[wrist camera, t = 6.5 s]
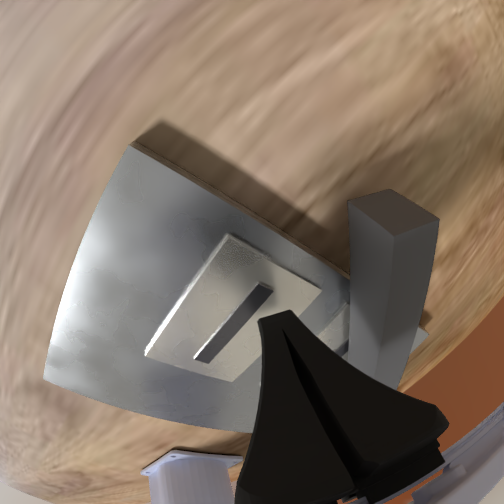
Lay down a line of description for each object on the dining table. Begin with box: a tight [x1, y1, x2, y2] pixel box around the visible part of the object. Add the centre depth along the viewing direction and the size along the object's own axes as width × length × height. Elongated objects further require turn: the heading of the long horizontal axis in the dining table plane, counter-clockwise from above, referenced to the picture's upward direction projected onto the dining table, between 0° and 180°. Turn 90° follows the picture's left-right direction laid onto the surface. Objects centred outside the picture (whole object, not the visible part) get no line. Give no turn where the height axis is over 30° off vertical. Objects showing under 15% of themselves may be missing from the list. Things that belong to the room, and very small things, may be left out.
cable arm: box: [347, 189, 440, 390], centre depth 13 cm, size 3×18×3 cm, turn 13°
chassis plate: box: [43, 141, 429, 433], centre depth 15 cm, size 14×22×1 cm, turn 53°
